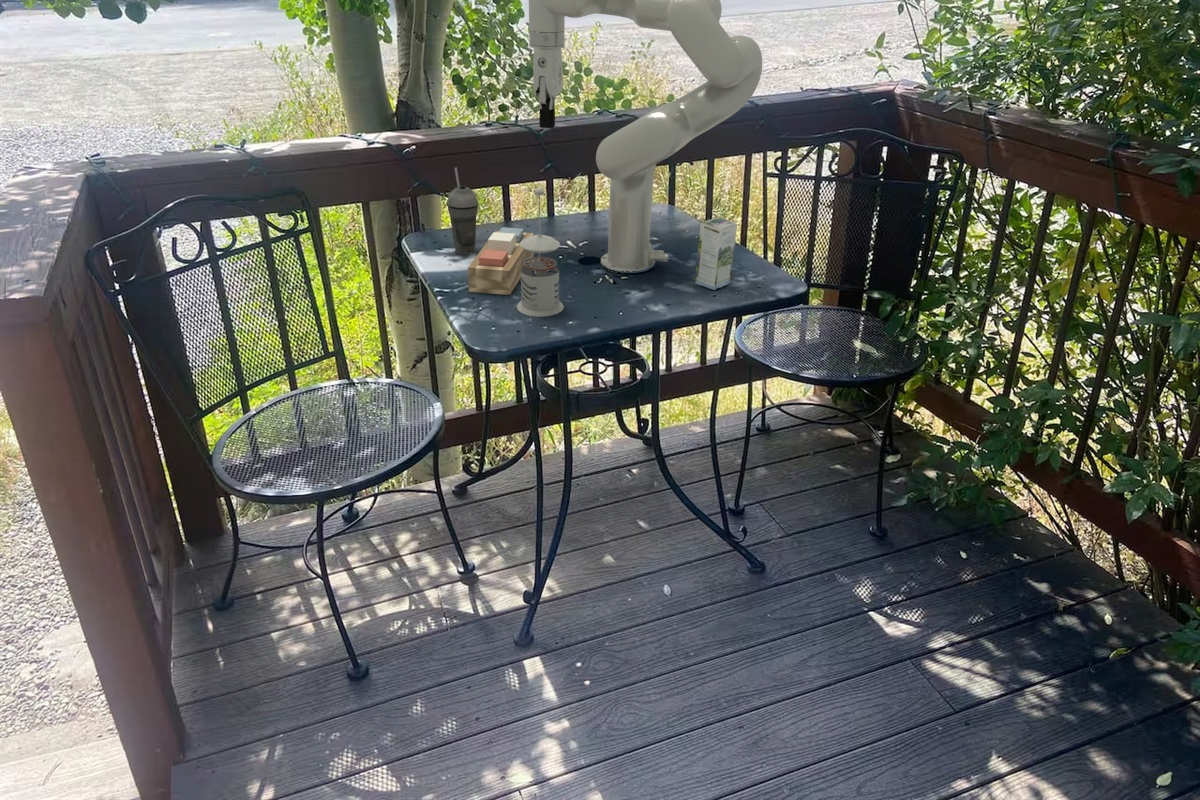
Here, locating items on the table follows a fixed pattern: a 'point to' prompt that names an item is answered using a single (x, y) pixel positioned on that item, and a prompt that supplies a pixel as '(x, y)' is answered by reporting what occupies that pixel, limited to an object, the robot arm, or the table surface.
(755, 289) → the table surface
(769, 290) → the table surface
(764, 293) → the table surface
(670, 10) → the robot arm
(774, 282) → the table surface
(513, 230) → the blue key
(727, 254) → the syrup box
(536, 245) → the french press
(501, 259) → the red key
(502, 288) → the key box
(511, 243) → the white key
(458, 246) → the beverage cup
